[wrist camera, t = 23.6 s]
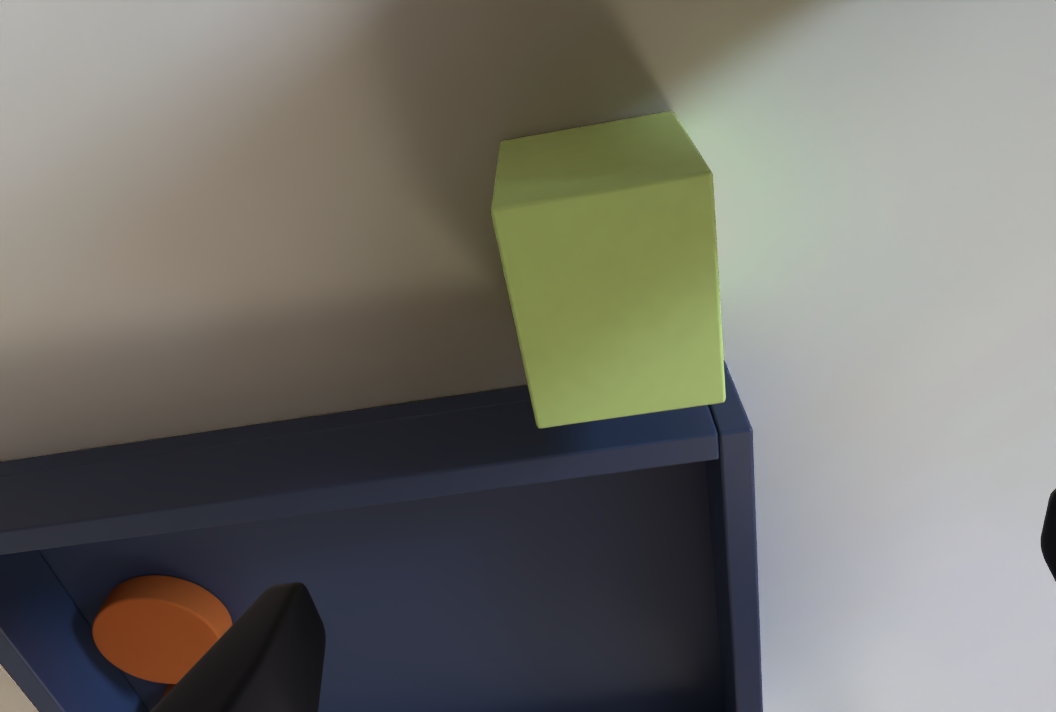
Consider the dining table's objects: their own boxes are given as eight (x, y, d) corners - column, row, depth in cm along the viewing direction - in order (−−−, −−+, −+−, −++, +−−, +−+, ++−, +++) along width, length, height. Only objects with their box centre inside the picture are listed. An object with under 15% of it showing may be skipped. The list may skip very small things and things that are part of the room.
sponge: (673, 109, 17) (713, 171, 14) (689, 304, 20) (726, 403, 16) (499, 140, 18) (489, 209, 14) (536, 328, 20) (536, 430, 16)
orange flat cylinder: (205, 566, 24) (193, 591, 23) (251, 651, 26) (242, 678, 25) (84, 581, 24) (67, 607, 23) (138, 664, 26) (125, 691, 25)
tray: (723, 355, 21) (753, 428, 18) (743, 713, 29) (766, 804, 26) (-19, 463, 23) (-97, 544, 20) (190, 770, 31) (155, 859, 28)
